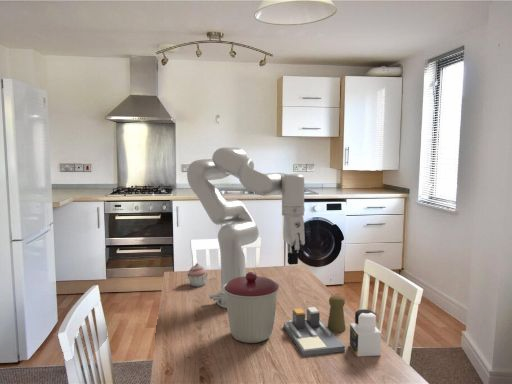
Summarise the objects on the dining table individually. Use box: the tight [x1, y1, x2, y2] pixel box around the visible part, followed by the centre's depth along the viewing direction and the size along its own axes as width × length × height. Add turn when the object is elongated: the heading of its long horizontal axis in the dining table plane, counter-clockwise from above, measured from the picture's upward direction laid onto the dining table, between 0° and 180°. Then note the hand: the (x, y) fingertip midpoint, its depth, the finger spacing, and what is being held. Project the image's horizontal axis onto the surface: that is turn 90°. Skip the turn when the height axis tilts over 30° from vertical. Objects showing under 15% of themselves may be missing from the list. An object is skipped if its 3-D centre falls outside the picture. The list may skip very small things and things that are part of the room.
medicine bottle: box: [349, 308, 382, 358], centre depth 120 cm, size 7×7×12 cm
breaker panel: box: [283, 318, 346, 357], centre depth 129 cm, size 13×20×2 cm, turn 13°
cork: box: [326, 294, 346, 333], centre depth 135 cm, size 6×6×11 cm
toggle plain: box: [306, 306, 321, 327], centre depth 135 cm, size 3×4×5 cm
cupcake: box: [186, 262, 208, 288], centre depth 179 cm, size 9×9×10 cm
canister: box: [223, 271, 280, 344], centre depth 129 cm, size 18×18×21 cm
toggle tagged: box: [292, 307, 306, 329], centre depth 133 cm, size 3×4×5 cm
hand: (292, 263), depth 138 cm, fingers closed
